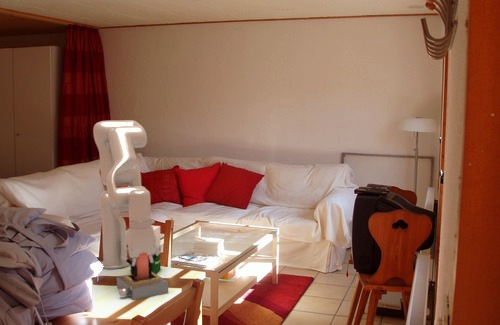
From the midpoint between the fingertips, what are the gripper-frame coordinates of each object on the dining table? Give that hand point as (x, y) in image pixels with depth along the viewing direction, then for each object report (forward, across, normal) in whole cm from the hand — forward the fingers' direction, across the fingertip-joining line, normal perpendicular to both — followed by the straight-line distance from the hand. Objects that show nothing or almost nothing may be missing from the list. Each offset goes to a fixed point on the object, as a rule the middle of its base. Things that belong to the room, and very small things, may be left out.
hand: (141, 274), depth 195 cm
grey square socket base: (+6, +1, 0) cm, 6 cm away
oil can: (+2, 0, 0) cm, 2 cm away
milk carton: (+6, -10, -19) cm, 23 cm away
